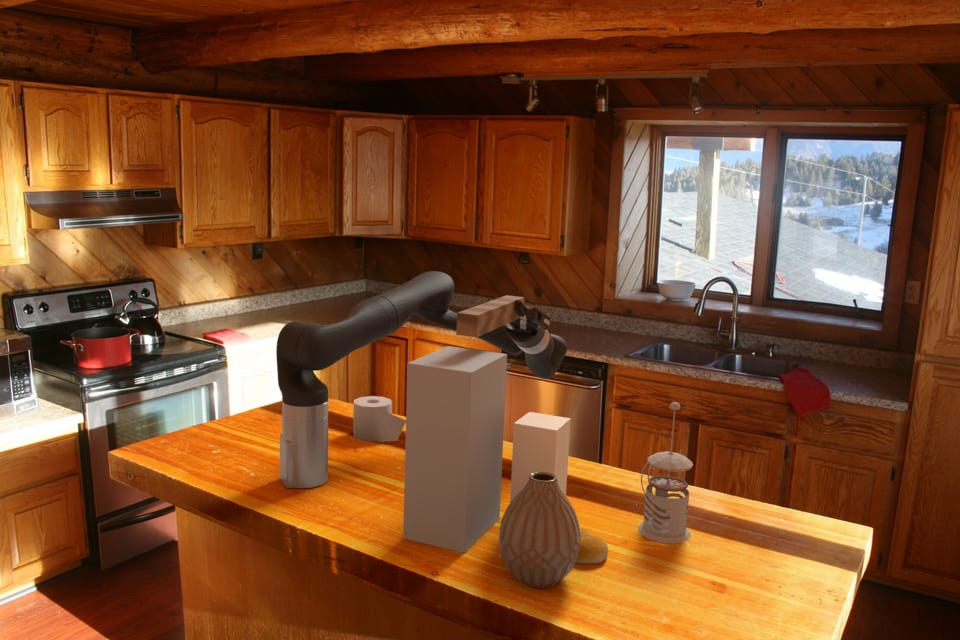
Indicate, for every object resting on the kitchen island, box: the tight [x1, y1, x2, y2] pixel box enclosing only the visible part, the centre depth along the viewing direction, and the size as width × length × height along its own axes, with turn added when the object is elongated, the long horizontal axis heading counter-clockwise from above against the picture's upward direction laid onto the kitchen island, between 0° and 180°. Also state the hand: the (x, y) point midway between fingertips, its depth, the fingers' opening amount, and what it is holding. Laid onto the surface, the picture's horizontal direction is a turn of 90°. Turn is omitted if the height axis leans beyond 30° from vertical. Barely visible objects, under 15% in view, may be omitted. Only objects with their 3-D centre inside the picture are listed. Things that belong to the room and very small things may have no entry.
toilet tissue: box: [352, 395, 406, 443], centre depth 198 cm, size 9×13×9 cm
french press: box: [637, 401, 694, 544], centre depth 150 cm, size 10×12×25 cm
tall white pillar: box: [402, 345, 508, 554], centre depth 146 cm, size 16×12×32 cm
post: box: [509, 411, 572, 504], centre depth 148 cm, size 8×8×21 cm
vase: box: [498, 471, 581, 589], centre depth 131 cm, size 13×13×18 cm
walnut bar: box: [455, 294, 525, 338], centre depth 155 cm, size 24×4×4 cm, turn 157°
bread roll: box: [575, 527, 609, 565], centre depth 141 cm, size 8×9×4 cm
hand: (505, 302), depth 161 cm, fingers closed on walnut bar, 4 cm apart
